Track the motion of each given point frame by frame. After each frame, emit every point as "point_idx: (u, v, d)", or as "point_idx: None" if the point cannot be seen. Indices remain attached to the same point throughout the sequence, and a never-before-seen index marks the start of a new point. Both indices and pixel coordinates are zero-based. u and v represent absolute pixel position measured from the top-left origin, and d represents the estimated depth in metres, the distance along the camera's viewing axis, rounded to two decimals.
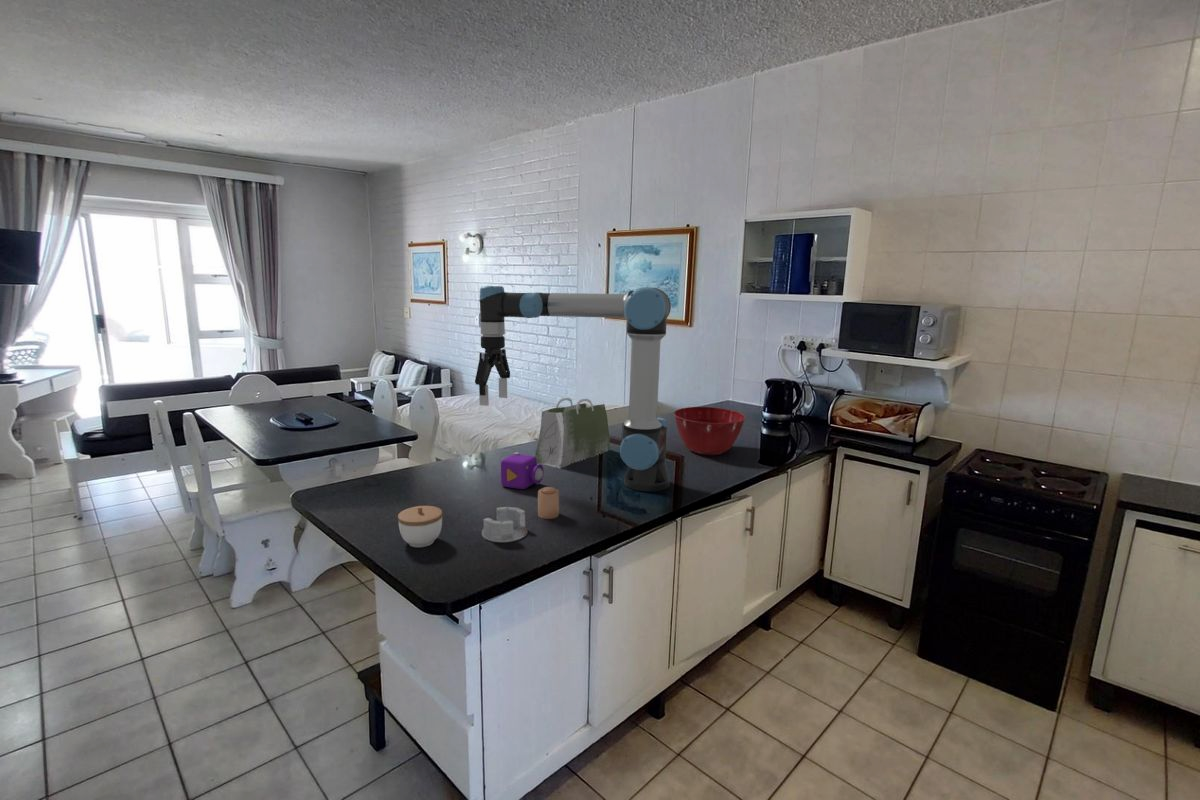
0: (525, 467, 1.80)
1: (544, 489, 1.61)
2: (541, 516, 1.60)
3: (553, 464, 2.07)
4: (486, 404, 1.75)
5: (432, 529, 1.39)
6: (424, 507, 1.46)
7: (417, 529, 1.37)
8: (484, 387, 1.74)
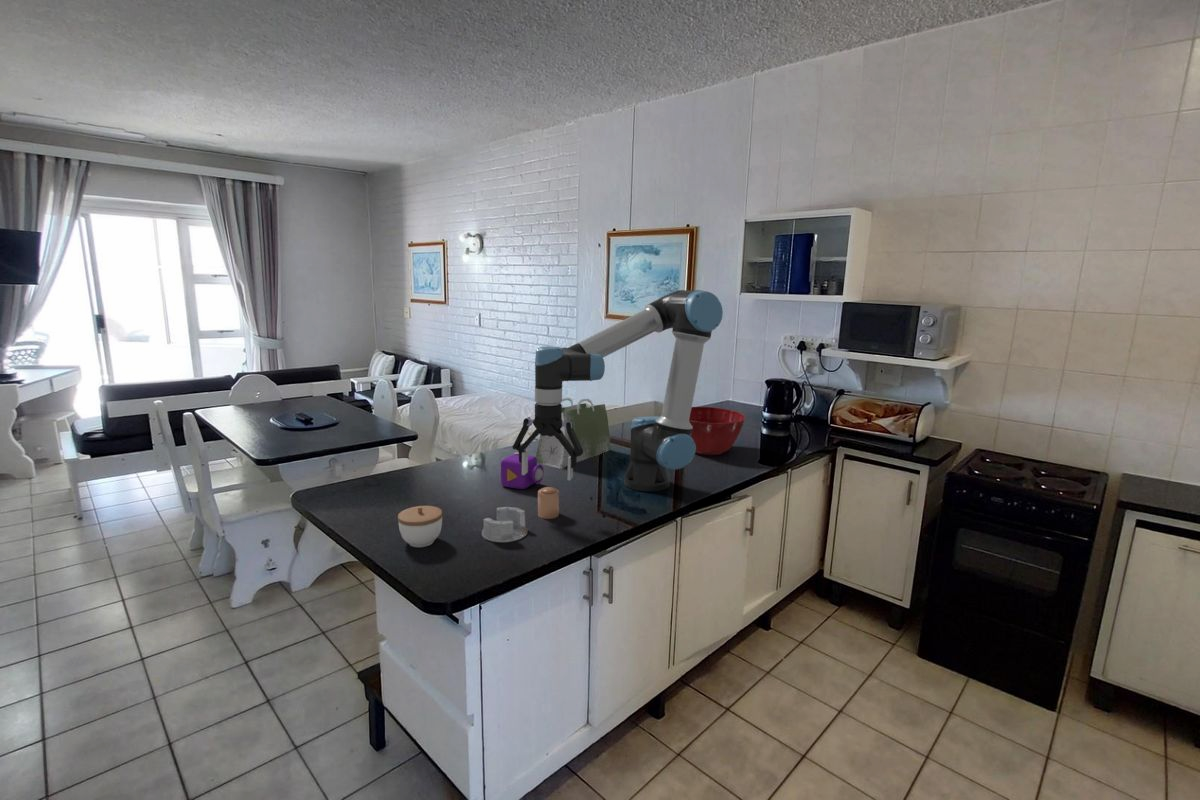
0: None
1: (544, 489, 1.61)
2: (541, 516, 1.60)
3: (554, 464, 2.06)
4: None
5: (432, 529, 1.39)
6: (424, 507, 1.46)
7: (417, 529, 1.37)
8: (520, 454, 1.60)
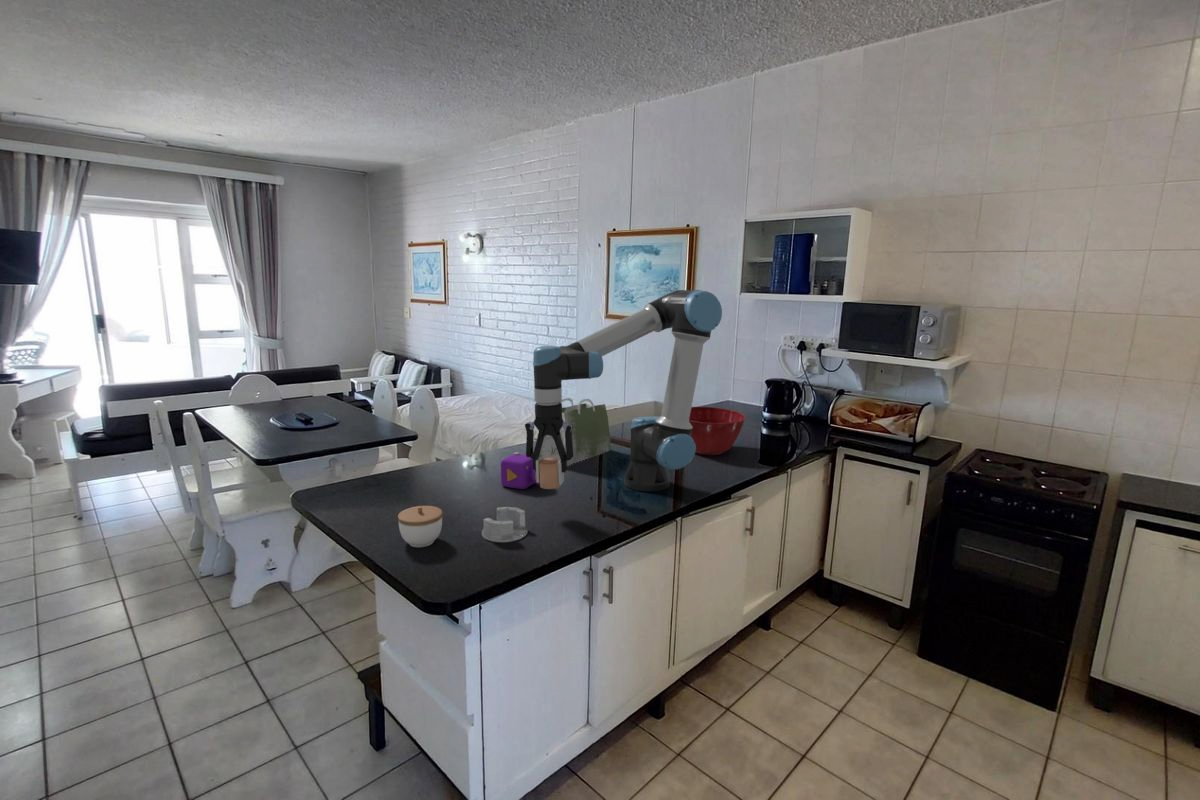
0: (525, 467, 1.80)
1: (545, 459, 1.60)
2: (543, 486, 1.58)
3: None
4: None
5: (432, 529, 1.39)
6: (424, 507, 1.46)
7: (417, 529, 1.37)
8: (534, 462, 1.60)
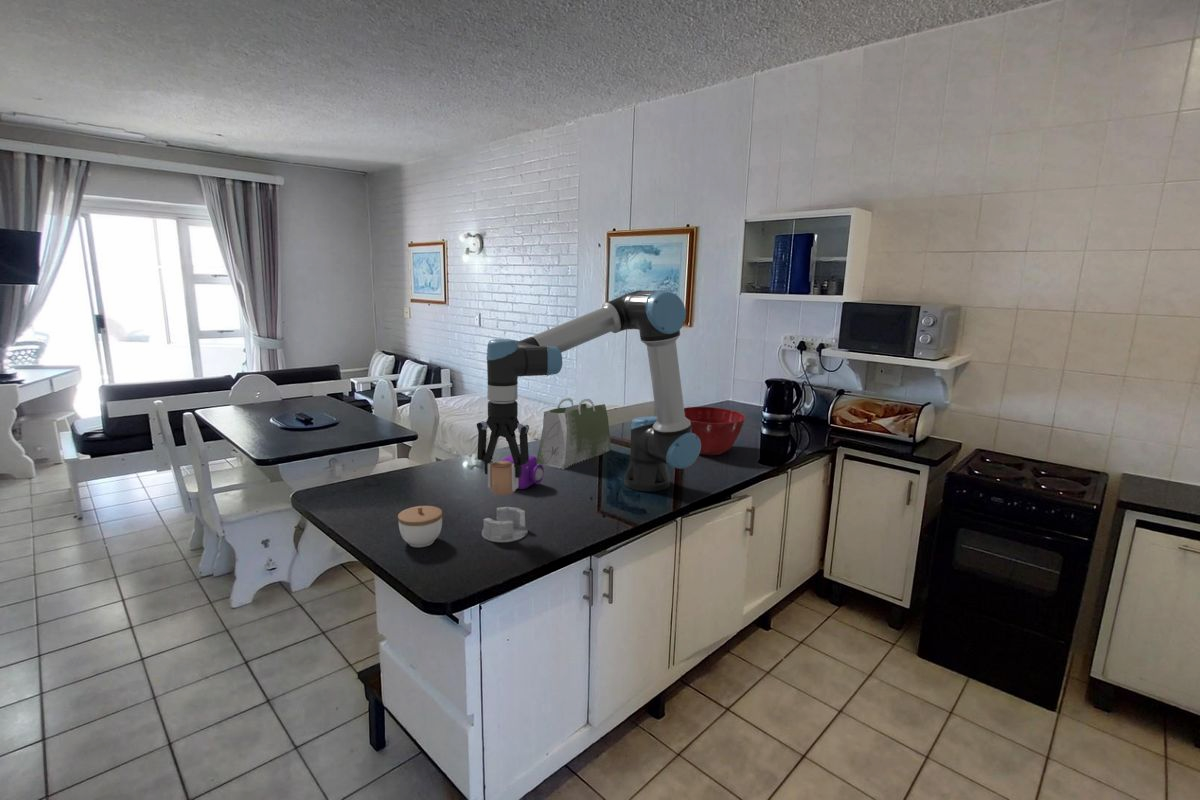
0: (525, 467, 1.80)
1: (498, 462, 1.46)
2: (494, 492, 1.45)
3: (556, 465, 2.06)
4: None
5: (432, 529, 1.39)
6: (424, 507, 1.46)
7: (417, 529, 1.37)
8: (486, 465, 1.46)
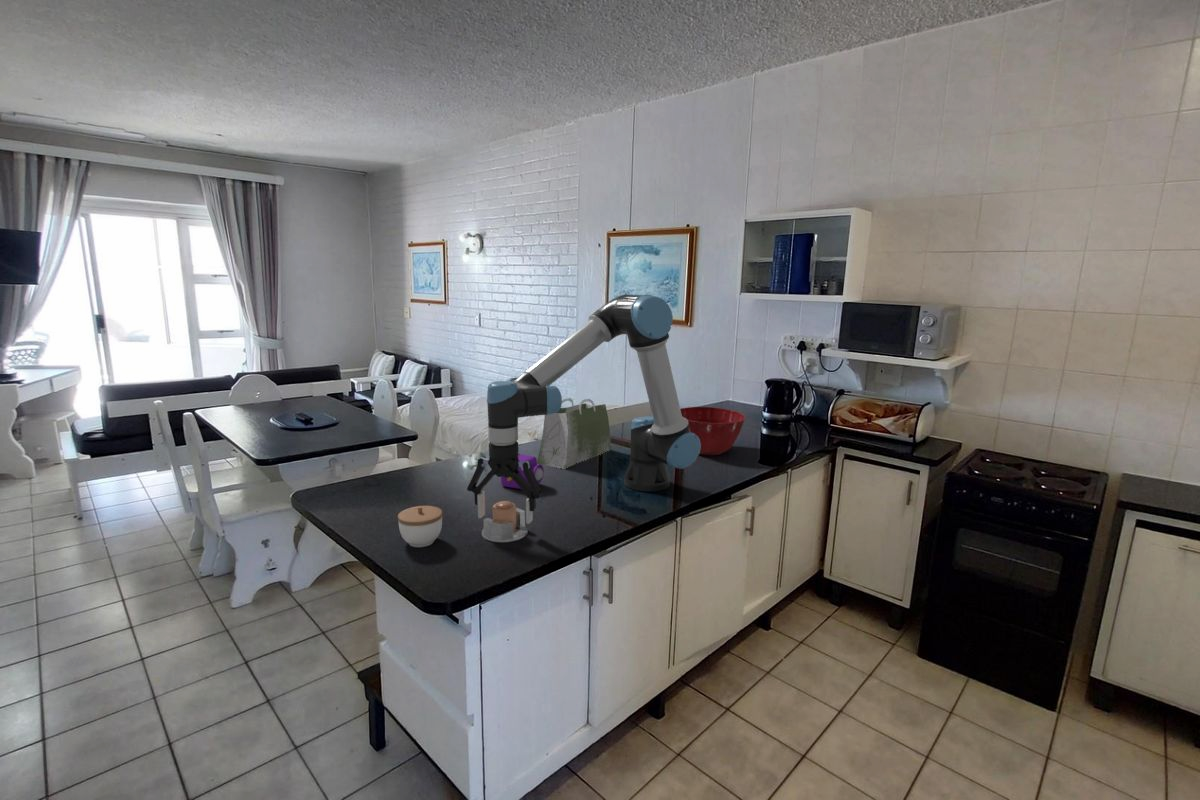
0: None
1: (499, 503, 1.49)
2: None
3: (557, 465, 2.06)
4: None
5: (432, 528, 1.39)
6: (424, 507, 1.46)
7: (417, 529, 1.37)
8: (476, 496, 1.49)
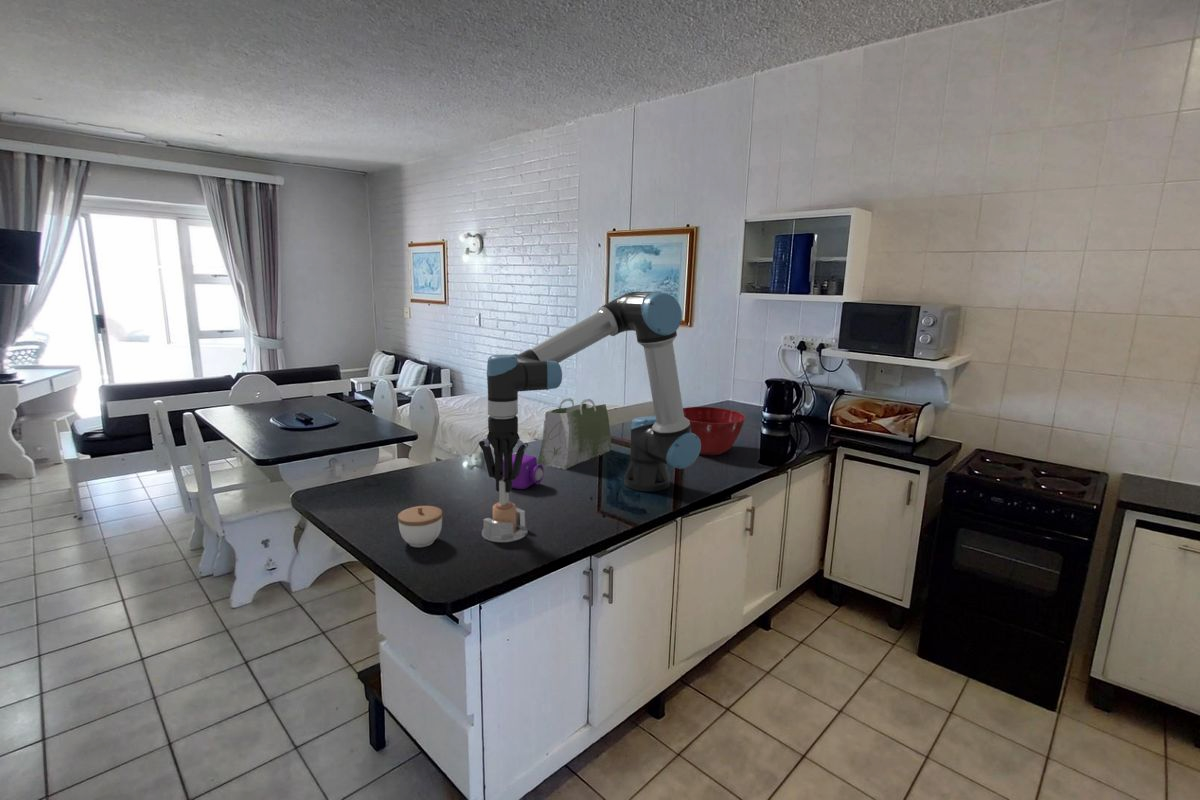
0: (525, 467, 1.80)
1: None
2: None
3: (558, 465, 2.05)
4: None
5: (432, 529, 1.39)
6: (424, 507, 1.46)
7: (417, 529, 1.37)
8: (498, 482, 1.47)
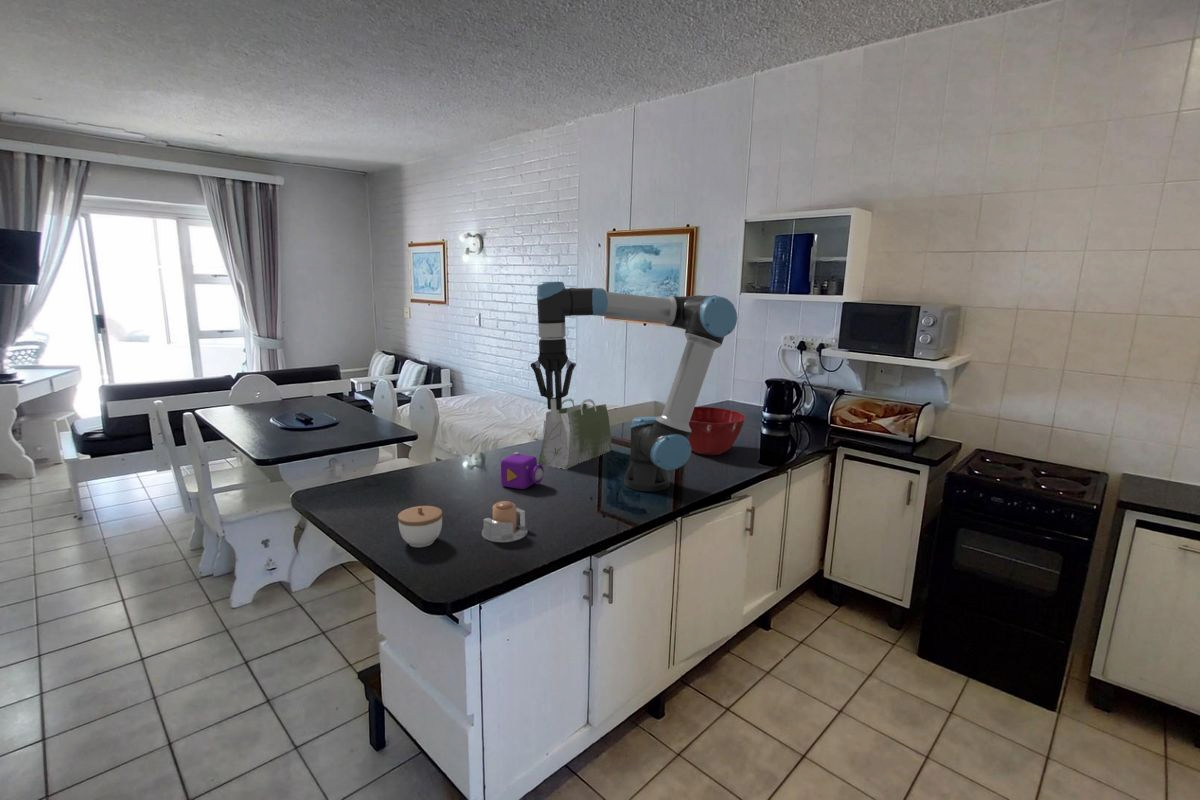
0: (525, 467, 1.80)
1: (499, 503, 1.49)
2: None
3: (558, 465, 2.05)
4: None
5: (432, 529, 1.39)
6: (424, 507, 1.46)
7: (417, 529, 1.37)
8: (549, 401, 1.60)
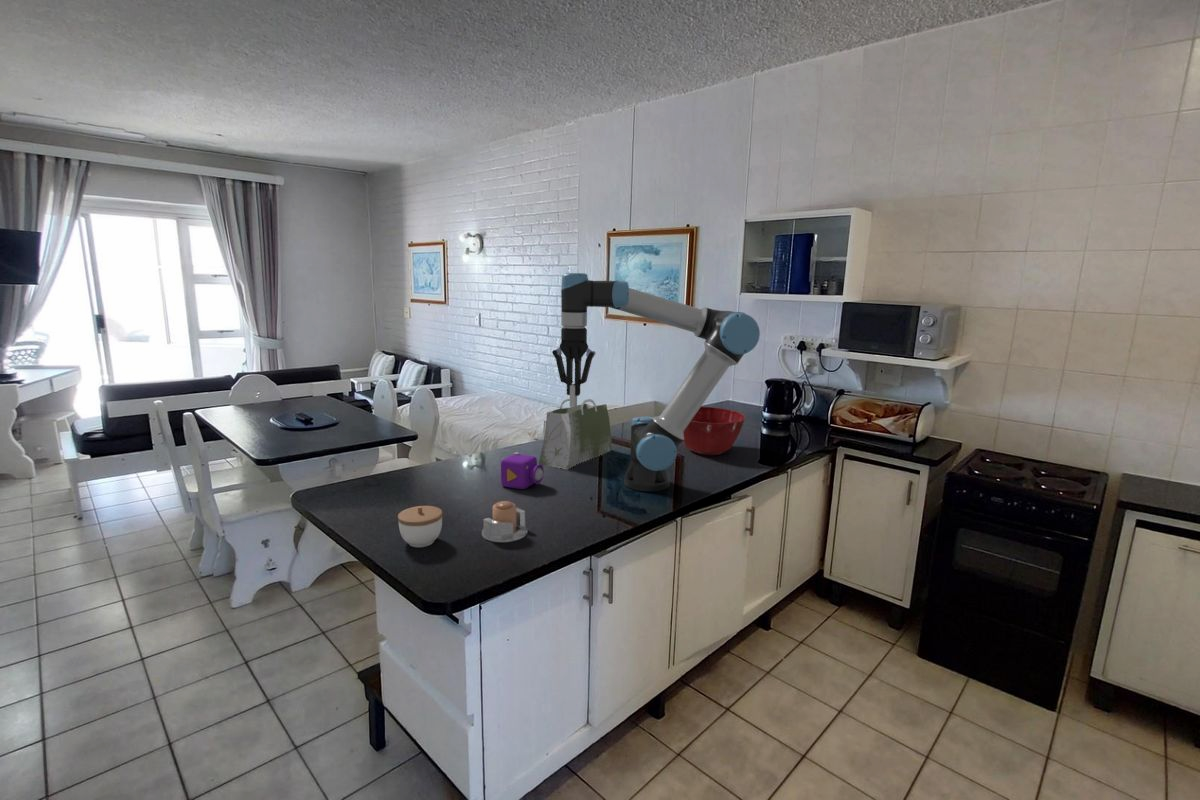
0: (525, 467, 1.80)
1: (499, 503, 1.49)
2: None
3: (559, 466, 2.05)
4: None
5: (432, 529, 1.39)
6: (424, 507, 1.46)
7: (417, 529, 1.37)
8: (568, 387, 1.68)
